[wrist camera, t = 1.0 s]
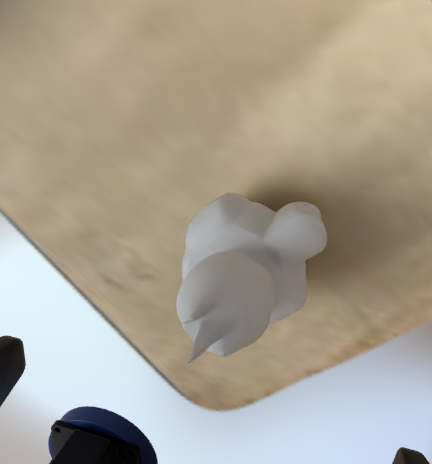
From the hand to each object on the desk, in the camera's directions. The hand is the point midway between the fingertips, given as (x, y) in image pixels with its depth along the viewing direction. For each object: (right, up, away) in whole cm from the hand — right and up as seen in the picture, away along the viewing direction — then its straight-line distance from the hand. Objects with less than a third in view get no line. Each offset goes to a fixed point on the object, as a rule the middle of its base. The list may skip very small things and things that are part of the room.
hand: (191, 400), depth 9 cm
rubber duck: (+3, +4, +9) cm, 10 cm away
